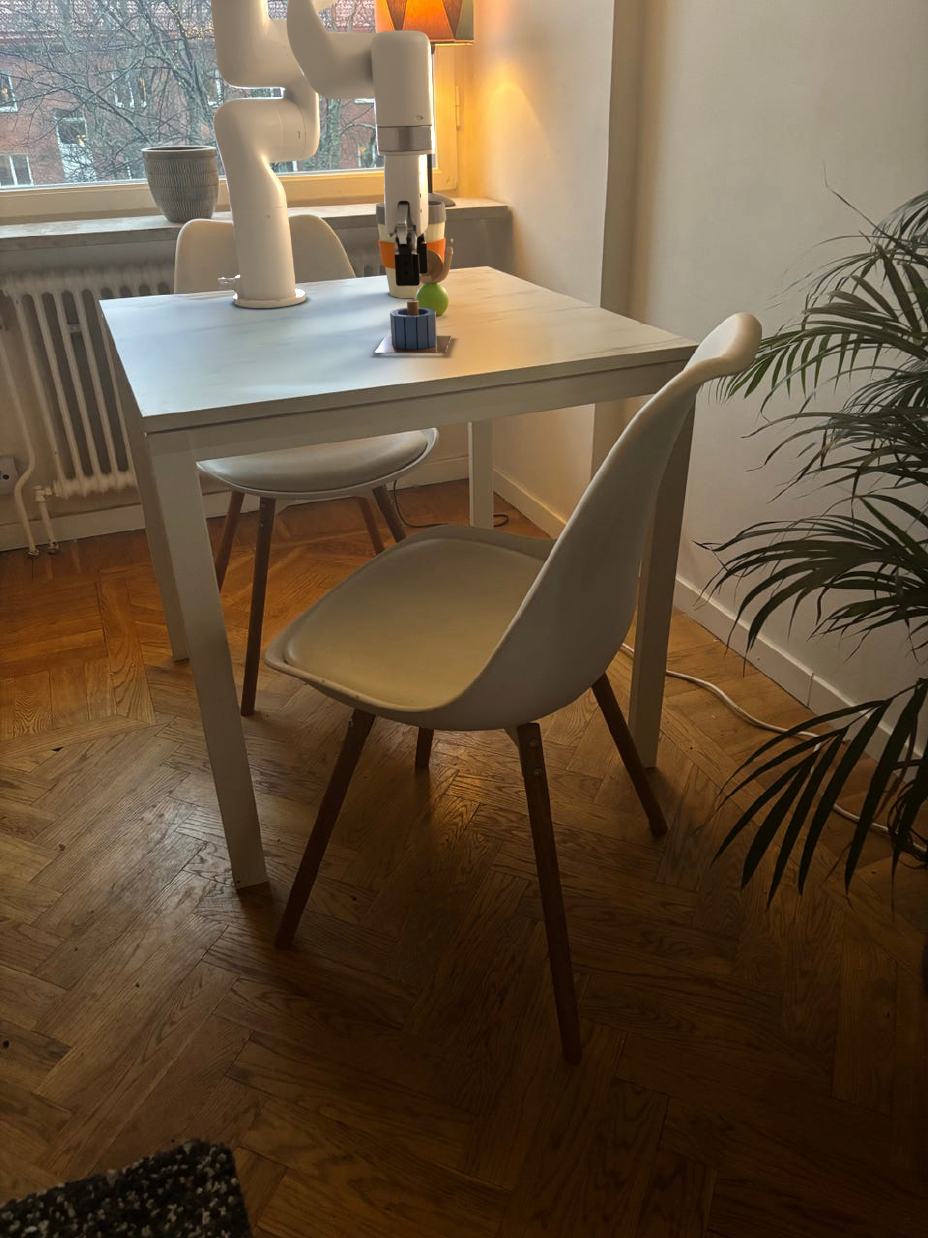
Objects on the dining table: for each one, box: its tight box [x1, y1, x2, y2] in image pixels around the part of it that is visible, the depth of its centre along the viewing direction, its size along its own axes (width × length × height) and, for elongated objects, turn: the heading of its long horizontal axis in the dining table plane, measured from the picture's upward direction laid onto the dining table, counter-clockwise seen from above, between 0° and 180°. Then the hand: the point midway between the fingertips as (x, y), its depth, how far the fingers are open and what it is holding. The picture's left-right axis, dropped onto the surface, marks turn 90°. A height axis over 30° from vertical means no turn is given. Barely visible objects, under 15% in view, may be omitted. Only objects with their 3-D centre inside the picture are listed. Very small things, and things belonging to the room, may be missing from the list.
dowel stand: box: [374, 299, 453, 354], centre depth 134 cm, size 10×10×7 cm
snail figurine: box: [414, 238, 454, 317], centre depth 150 cm, size 5×6×12 cm
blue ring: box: [389, 307, 438, 349], centre depth 134 cm, size 6×6×4 cm
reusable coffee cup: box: [375, 199, 448, 299], centre depth 167 cm, size 13×13×15 cm
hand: (412, 278), depth 131 cm, fingers open, 9 cm apart
